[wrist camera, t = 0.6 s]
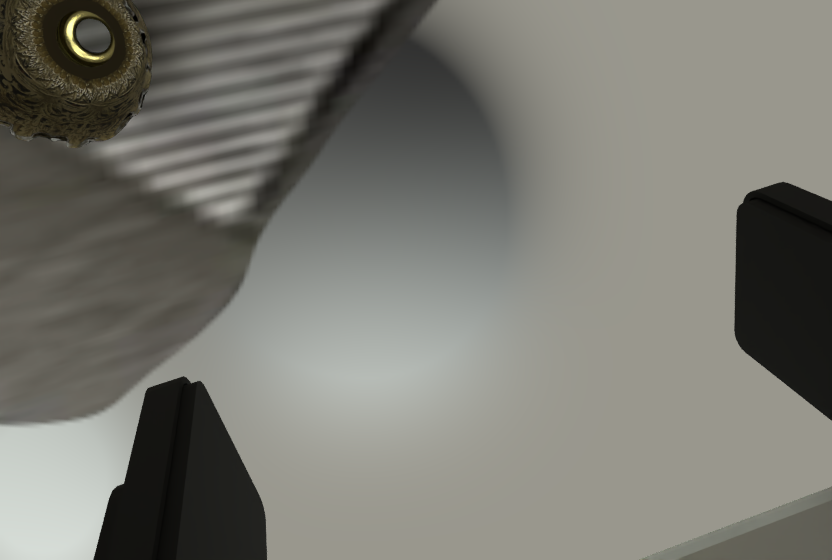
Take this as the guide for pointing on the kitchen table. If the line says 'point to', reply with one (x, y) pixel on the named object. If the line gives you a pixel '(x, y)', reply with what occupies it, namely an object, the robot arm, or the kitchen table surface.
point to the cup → (71, 70)
